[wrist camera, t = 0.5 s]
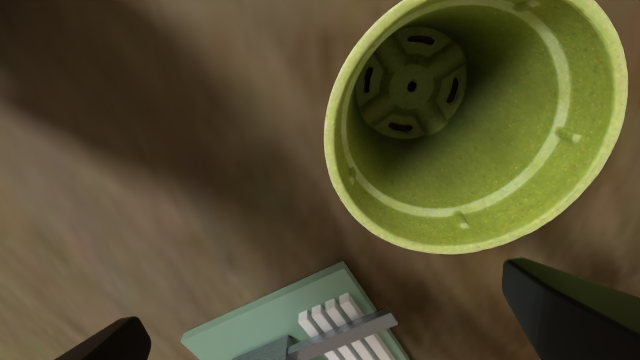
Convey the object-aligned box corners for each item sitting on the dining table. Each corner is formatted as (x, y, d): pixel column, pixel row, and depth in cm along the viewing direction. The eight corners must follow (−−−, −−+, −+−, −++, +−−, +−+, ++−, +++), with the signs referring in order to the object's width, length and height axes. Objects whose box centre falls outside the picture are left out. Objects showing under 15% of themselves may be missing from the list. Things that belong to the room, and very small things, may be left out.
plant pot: (469, 172, 21) (558, 265, 13) (315, 159, 21) (312, 246, 13) (522, -1, 17) (692, -14, 9) (332, -21, 17) (342, -52, 9)
